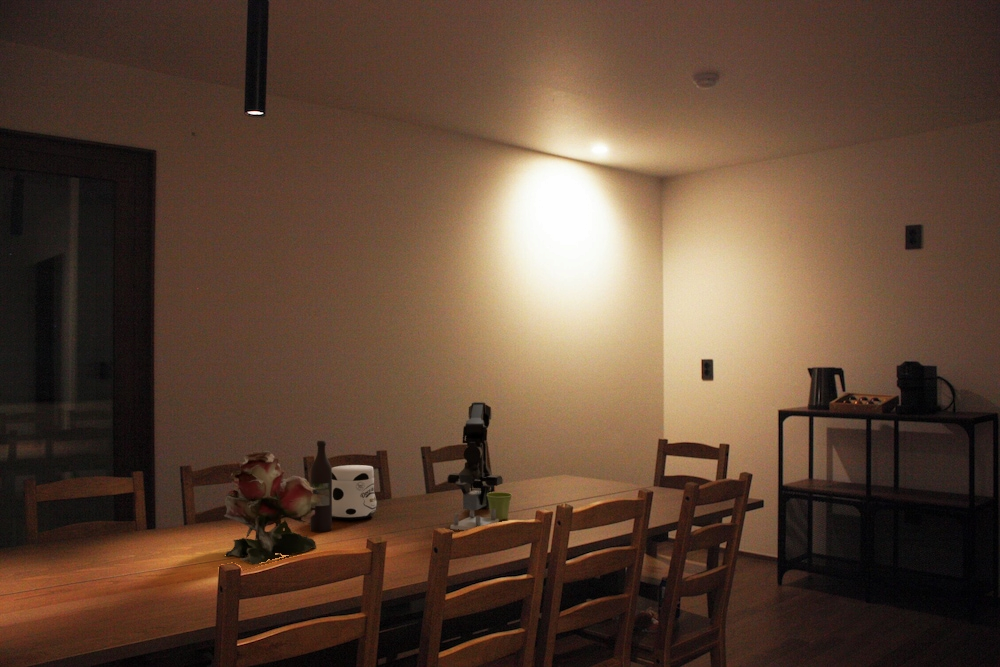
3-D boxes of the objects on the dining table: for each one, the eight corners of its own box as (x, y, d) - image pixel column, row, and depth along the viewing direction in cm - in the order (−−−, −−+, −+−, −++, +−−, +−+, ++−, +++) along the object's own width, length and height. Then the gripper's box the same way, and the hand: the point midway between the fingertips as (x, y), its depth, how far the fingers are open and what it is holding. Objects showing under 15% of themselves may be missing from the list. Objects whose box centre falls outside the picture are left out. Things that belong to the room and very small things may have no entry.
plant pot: (513, 516, 290) (513, 492, 290) (511, 521, 281) (511, 496, 281) (487, 515, 291) (487, 492, 291) (484, 521, 282) (484, 496, 282)
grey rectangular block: (473, 504, 279) (473, 489, 280) (486, 505, 278) (486, 490, 278) (463, 509, 271) (463, 494, 271) (476, 510, 269) (476, 495, 269)
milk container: (381, 520, 284) (381, 469, 284) (332, 524, 277) (332, 472, 278) (370, 511, 300) (370, 463, 300) (324, 515, 293) (324, 466, 294)
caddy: (470, 519, 284) (470, 506, 284) (498, 522, 279) (498, 508, 280) (450, 528, 269) (450, 514, 269) (480, 531, 265) (480, 517, 265)
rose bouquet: (330, 545, 246) (330, 448, 247) (258, 567, 221) (259, 458, 222) (270, 536, 259) (271, 443, 260) (196, 555, 234) (197, 453, 235)
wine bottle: (305, 531, 266) (306, 441, 267) (319, 527, 272) (320, 439, 273) (322, 533, 263) (322, 442, 264) (336, 529, 269) (336, 440, 270)
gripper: (440, 460, 271) (440, 506, 271) (490, 463, 264) (490, 510, 263) (454, 456, 281) (454, 501, 281) (503, 459, 274) (503, 504, 274)
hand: (474, 504), depth 274 cm, fingers closed on grey rectangular block, 5 cm apart
